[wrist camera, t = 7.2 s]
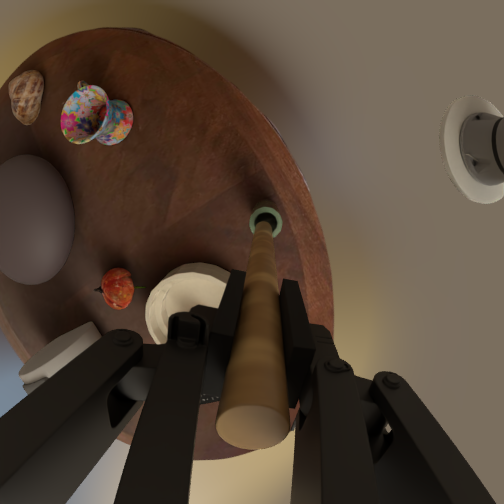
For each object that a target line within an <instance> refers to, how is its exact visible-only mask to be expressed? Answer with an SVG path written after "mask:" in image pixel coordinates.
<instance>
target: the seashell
mask: <svg viewBox="0 0 504 504" xmlns="http://www.w3.org/2000/svg"><path fill="white" fill-rule="evenodd" d="M43 89H44V80H43V76H42V74H41V73H40V72H39V71H36V70H29V71H26V72H24V73H22V74H21V75H20V76H17V77H16V78H14V79H13V80H12V81H11V82H10V83H9V96H10V98H11V107H12V111H13V114H14V116H15V117H16V118H17V119H18V120H19V121H21V122H22V123H23V124H25V125H30V124H32V123H33V122H34V121H35V119H36V118H37V117H38V114H39V111H40V108H41V99H42V94H43Z"/></svg>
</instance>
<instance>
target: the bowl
mask: <svg viewBox="0 0 504 504" xmlns="http://www.w3.org/2000/svg"><path fill="white" fill-rule="evenodd" d="M230 274H231V273H230V272H228V271H226V270H224V269H222V268H220V267H218V266H216V265H212V264H206V263H201V262H198V263H190V264H184V265H182V266H180V267H177V268H175V269H173V270H171V271H170V272H169V273H168V274H167V275H166V276H165V278H164V279H163V280H162V281H161V282H160V283H159V284H158V285H157V286H156V287H155V288H154V289H153V290H152V291H151V293H150V296H149V298H148V301H147V303H146V318H145V319H146V323H147V326H148V329H149V333H150V335H151V336H152V338H153V339H154V341H155V342H156V344H164V343H166V341H167V334H168V319H169V317H170V316H171V315H172V314H174V313H176V312H184V311H185V312H189V311H190V309H191V308H192V307H194V306H196V305H198V304H200V305H205V306H209V307H214V308H218V307H219V304H220V301H221V299H222V296H223V293H224V290H225V287H226V285H227V282H228V279H229V276H230Z"/></svg>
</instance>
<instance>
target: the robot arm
mask: <svg viewBox="0 0 504 504" xmlns="http://www.w3.org/2000/svg"><path fill="white" fill-rule="evenodd" d="M459 147H460V153H461V157H462V160H463V163H464V165H465V167H466V169H467V171H468V172H469V174H470V175H471V176H472V178H473V179H474V180H476V181H477V182H478V183H480V184H483V185H489V186H493V185H498V184H501V183H503V182H504V117H499V116H496V115H493V114H489V113H485V112H478V113H473V114H471V115H469V116H468V117H467V118H466V119H465V120H464V122H463V124H462V126H461V129H460V135H459ZM245 278H246V272H244V271H239V270H234V269H232V271H231V274H230V276H229V279H228V282H227V285H226V287H225V290H224V293H223V296H222V299H221V301H220V304H219V307H218V308H214V307H209V306H205V305H200V304H198V305H196V306H194V307H192V308H191V309H190V311H189V312H185V311H184V312H176V313H174V314H172V315H171V316H170V317H169V319H168V334H167V341H166V343H164V344H143V339H142V337H141V336H140V335H139V334H138V333H136V332H134V331H131V330H127V329H116V330H112V331H110V332H108V333H106V334H105V335H104V336H102V337H101V338H100V339H98V340H97V341H96V342H94V343H93V344H92V345H91V346H89V347H88V348H87V349H85V350H84V351H83V352H82V353H80V354H79V355H78V356H76V357H75V358H74V359H73V360H71V361H70V362H69V363H68V364H66V365H65V366H64V367H62V368H61V369H60V370H59V371H57V372H56V373H55V374H54V375H52V376H51V377H50V378H49V379H47V380H46V381H45V382H44V383H42V384H41V385H40V386H39V387H37V388H36V389H35V390H34V391H32V392H31V393H30V394H29V395H28V396H26V397H25V398H24V399H22V400H21V401H20V402H19V403H18V404H16V405H15V406H14V407H13V408H11V409H10V410H9V411H8V412H7V413H6V414H4V415H3V416H2V417H1V418H0V504H65V503H66V502H67V501H68V500H69V498H70V497H71V496H72V495H73V493H74V492H75V491H76V489H77V488H78V487H79V486H80V484H81V483H82V482H83V480H84V479H85V478H86V477H87V475H88V474H89V473H90V471H91V470H92V469H93V468H94V466H95V465H96V464H97V462H98V461H99V460H100V459H101V457H102V456H103V455H104V453H105V452H106V451H107V450H108V448H109V447H110V446H111V444H112V443H113V442H114V440H115V439H116V438H117V437H118V435H119V434H120V433H121V431H122V430H123V429H124V428H125V426H126V425H127V424H128V422H129V421H130V420H131V418H132V417H133V416H134V415H135V413H136V412H137V411H138V409H139V408H140V407H141V405H142V404H143V401H145V403H144V406H143V409H142V412H141V415H140V418H139V421H138V424H137V427H136V430H135V434H134V437H133V440H132V443H131V446H130V449H129V453H128V456H127V459H126V463H125V466H124V469H123V473H122V476H121V480H120V483H119V486H118V490H117V493H116V497H115V501H114V504H189V495H190V485H191V474H192V465H193V456H194V447H195V439H196V430H197V422H198V414H199V406H200V398H201V391H202V394H205V395H209V396H214V397H219V398H220V397H221V392H222V387H223V382H224V377H225V373H226V368H227V365H228V363H229V359H230V354H231V349H232V344H233V339H234V334H235V329H236V324H237V319H238V314H239V309H240V304H241V299H242V294H243V289H244V283H245ZM279 301H280V312H281V322H282V333H283V344H284V355H285V366H286V377H287V389H288V402H289V408H294V409H295V407H296V405H297V402H298V399H299V402H300V408H299V410H298V413H297V415H296V418H295V420H294V423H293V425H292V428H291V431H293V430H294V428H295V427H296V428H295V448H294V464H293V477H292V491H291V502H290V504H496V503H495V501H494V500H493V498H492V497H491V495H490V494H489V492H488V491H487V489H486V488H485V487H484V485H483V484H482V482H481V481H480V479H479V478H478V477H477V475H476V474H475V472H474V471H473V469H472V468H471V467H470V465H469V464H468V462H467V461H466V460H465V458H464V457H463V456H462V454H461V453H460V451H459V450H458V449H457V447H456V446H455V445H454V443H453V442H452V440H450V438H449V436H448V435H447V434H446V432H445V431H444V430H443V428H442V427H441V426H440V424H439V423H438V422H437V421H436V419H435V418H434V417H433V415H432V414H431V413H430V411H429V410H428V409H427V407H426V406H425V405H424V403H423V402H422V401H421V400H420V398H419V397H418V396H417V394H416V393H415V392H414V391H413V389H412V388H411V387H410V386H409V384H408V383H407V382H406V381H405V380H404V379H403V378H402V377H401V376H399V375H397V374H396V373H393V372H386V371H382V372H378V373H377V374H376V375H375V376H374V379H373V381H372V380H368V379H365V378H361V377H358V376H355V375H354V372H353V369H352V367H351V365H349V364H348V363H347V362H346V361H344V360H342V359H340V358H339V355H338V352H337V350H336V347H335V345H334V342H333V339H332V336H331V334H330V331H329V330H327V329H326V328H325V327H324V326H323V325H317V324H310V323H309V321H308V317H307V313H306V310H305V306H304V302H303V299H302V295H301V292H300V288H299V285H298V281H294V280H288V279H283V282H282V287H281V291H280V295H279ZM387 424H389V425H390V427H391V429H392V430H391V431H390V432H389V433H388V432H387V431H386V429H385V427H386V426H387Z"/></svg>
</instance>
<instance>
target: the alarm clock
mask: <svg viewBox="0 0 504 504" xmlns="http://www.w3.org/2000/svg"><path fill="white" fill-rule="evenodd" d="M101 337H102V336H101V334H100V333H99V331H98V329H97V328H96V326H95V325H94V323H93V322H88V323H86V324H84V325H82V326H80V327H78V328H76V329H73V330H71V331H69V332H67V333H65V334H63V335H61V336H59V337H58V338H56V339H55V340H53V341H52V342H50V343H49V344H48V345H46V346H45V347H44V348H42V349H41V350H40V351H38V352H37V353H36V354H35V355H34V356H33V357H32V358H30V359H29V360H28V361H27V362H26V363H25V365H24V366H23V367H22V368H21V370H20V371H19V377H20V378H21V379H22V381H23V382H24V385H23V388H24V390H25V391H26V392H27V394H28V395H29V394H30V393H31V392H32V391H34V390H35V389H36V388H37V387H39V386H40V385H41V384H42V383H44V382H45V381H46V380H47V379H49V378H50V377H51V376H52V375H54V374H55V373H56V372H57V371H59V370H60V369H61V368H62V367H64V366H65V365H66V364H68V363H69V362H70V361H71V360H73V359H74V358H75V357H76V356H78V355H79V354H80V353H82V352H83V351H84V350H85V349H87V348H88V347H89V346H91V345H92V344H93V343H94V342H96V341H97V340H98V339H100V338H101Z"/></svg>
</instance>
